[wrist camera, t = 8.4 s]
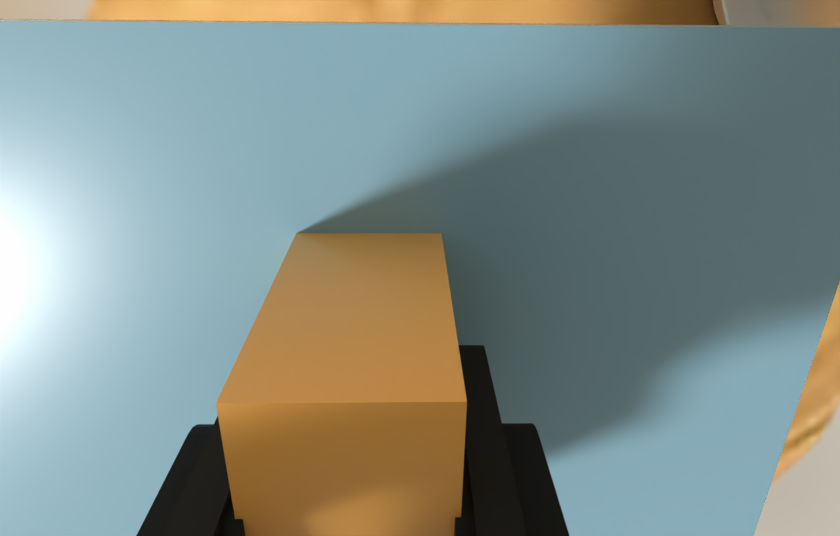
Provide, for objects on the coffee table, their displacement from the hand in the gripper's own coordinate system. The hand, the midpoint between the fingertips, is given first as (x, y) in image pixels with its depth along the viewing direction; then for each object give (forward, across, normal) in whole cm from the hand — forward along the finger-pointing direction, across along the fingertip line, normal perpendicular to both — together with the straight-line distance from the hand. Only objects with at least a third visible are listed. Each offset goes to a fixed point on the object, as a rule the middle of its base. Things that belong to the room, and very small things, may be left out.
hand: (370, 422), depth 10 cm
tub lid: (+3, 0, 0) cm, 3 cm away
